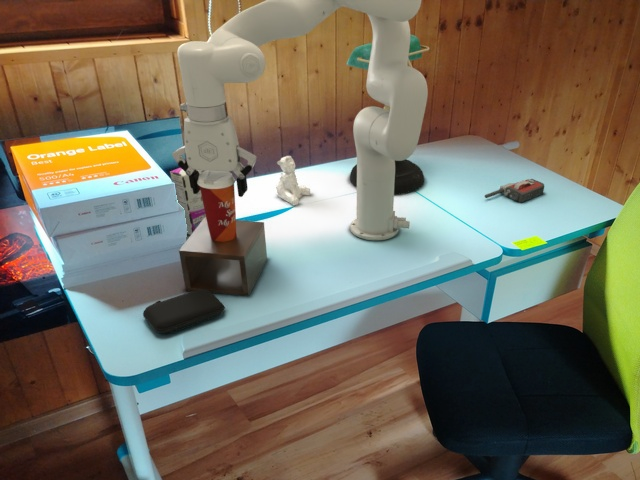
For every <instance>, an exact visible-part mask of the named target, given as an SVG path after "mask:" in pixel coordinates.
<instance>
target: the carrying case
mask: <svg viewBox="0 0 640 480" xmlns="http://www.w3.org/2000/svg"><path fill="white" fill-rule="evenodd" d="M225 307H226V306H225V305H224V304H223V303H222V302H221V301H220V299H218V297H217V296H216V295H214V293H211V292H210V291H208V290H206V289H199V290H196V291H188V292H186V293H183V294H179V295H177V296H174V297H171V298H167V299H165V300H162V301H161V300H158V301H155V302H154V303H152V304H150V305H148V306H147V307H145V309H144V310H143V312H142V316H143V318H144V319H145V321H146V322H147V323H148V324H149V326H150V327H151V328H152V329H153V330H154V332H155V333H157V334H160V335H162V336H163V335H170V334H172V333H176V332H178V331H181V330H185V329H187V328H190V327H193V326H195V325H198V324H201V323H205V322H207V321H210V320H212V319H215V318H217V317H219V316H221V315H222V314H223V313H224V312H225V309H226V308H225Z"/></svg>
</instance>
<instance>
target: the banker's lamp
mask: <svg viewBox="0 0 640 480" xmlns="http://www.w3.org/2000/svg"><path fill="white" fill-rule="evenodd" d="M371 49H372V42H369V43H366V44H362V45H359V46H357V47H355V48H354V49H353V50H352V52H351V53H350V55H349V57H348V59H347V62H346V66H349V67H354V68H357V69H363V70H367V71H368V68H369V61H370V55H371ZM429 51H430V47H429V46H427V45H423V44H421V42H420V38H418V36H416V35H414V34H410V47H409V55H408V66H409V67H412V68H414V67H413V65H412V61H416V60H418V59H422V58H423V53H425V52H429ZM383 109H385V110H387V111H390V107H389V106H387V105H384V106H383ZM349 181H350V183H351V185H353V186H354V187H356V188H357V163H356V164H355V165H354V166H353V167H352V169H351V170H350V173H349ZM424 184H425V175H424V171H423V170H422V168H421V167H420V166H418V165H417V163H414V162H412V161H411V160H409V159H408V158H407V159H405V160H402V161H396V160H395V182H394V196H397V195H405V194H409V193H412V192H415V191H417V190H420V188H422V187H423V186H424Z"/></svg>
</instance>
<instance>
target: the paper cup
mask: <svg viewBox="0 0 640 480" xmlns="http://www.w3.org/2000/svg"><path fill="white" fill-rule="evenodd" d="M235 183H236V178H235V177H234V175H233V172H231V171H229V172H225V171H205V172H202V173H201V174H200V175H199V179H198V181H197V184H198V185H199V186H200V191H201V195H202V200H203V205H204V210H205V215H206V219H207V224H208V229H209V233H210V237H211V239H213V240H214V241H219V242H225V241H230V240H232V239H234V238H235V237H236V220H237V214H236V192H235Z"/></svg>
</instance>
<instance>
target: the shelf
mask: <svg viewBox="0 0 640 480" xmlns="http://www.w3.org/2000/svg"><path fill="white" fill-rule="evenodd" d="M267 252H268V251H267V243H266V230H265V222H264V221H253V220H239V219H236V237H235V238H234V239H232V240H230V241H225V242H219V241H214V240H213V239H211V237H210V233H209V229H208V224H207V219H206V218H204V219H203V220H202V221H201V223H200V224H199V225H198V227H197V228H196V229H195V230H194V232H193V233H192V234H191V235H189V237H188V238H187V239H186V241H185V242H184V243H183V244H182V245H181V247H180V249H179V250H178V253H179V259H180V264H181V271H182V276H183V281H184V287H185V291H187V292H192V291H196V290H199V289H206V290H208V291H210V292H211V293H212V294H221V295H233V296H245V297H249V296H250V295H251V292H252V290H253V289H254V287H255V284H256V283H257V281H258V279H259V277H260V275H261V273H262V272H263V269H264V268H265V265H266V263H267V261H268V253H267Z"/></svg>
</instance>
